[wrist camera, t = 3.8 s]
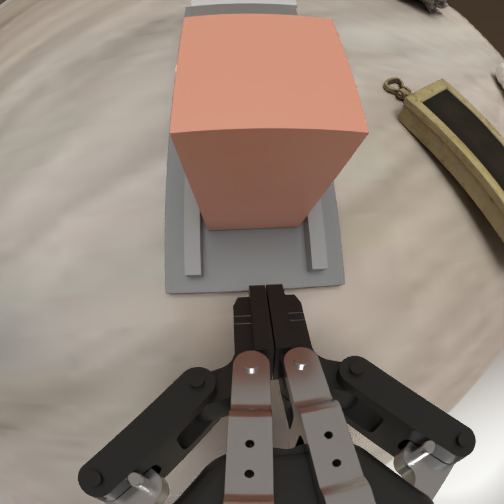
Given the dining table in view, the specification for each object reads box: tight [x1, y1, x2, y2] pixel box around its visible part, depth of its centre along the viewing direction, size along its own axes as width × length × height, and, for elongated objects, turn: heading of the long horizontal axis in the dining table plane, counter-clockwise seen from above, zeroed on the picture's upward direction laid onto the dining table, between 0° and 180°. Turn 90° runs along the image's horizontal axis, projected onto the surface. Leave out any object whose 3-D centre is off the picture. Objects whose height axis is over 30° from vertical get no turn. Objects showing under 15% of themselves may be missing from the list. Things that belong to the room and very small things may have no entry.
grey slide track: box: [165, 0, 345, 294], centre depth 20 cm, size 30×12×6 cm, turn 3°
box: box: [383, 77, 504, 243], centre depth 22 cm, size 8×22×5 cm, turn 37°
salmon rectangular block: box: [170, 14, 369, 230], centre depth 15 cm, size 6×6×12 cm
